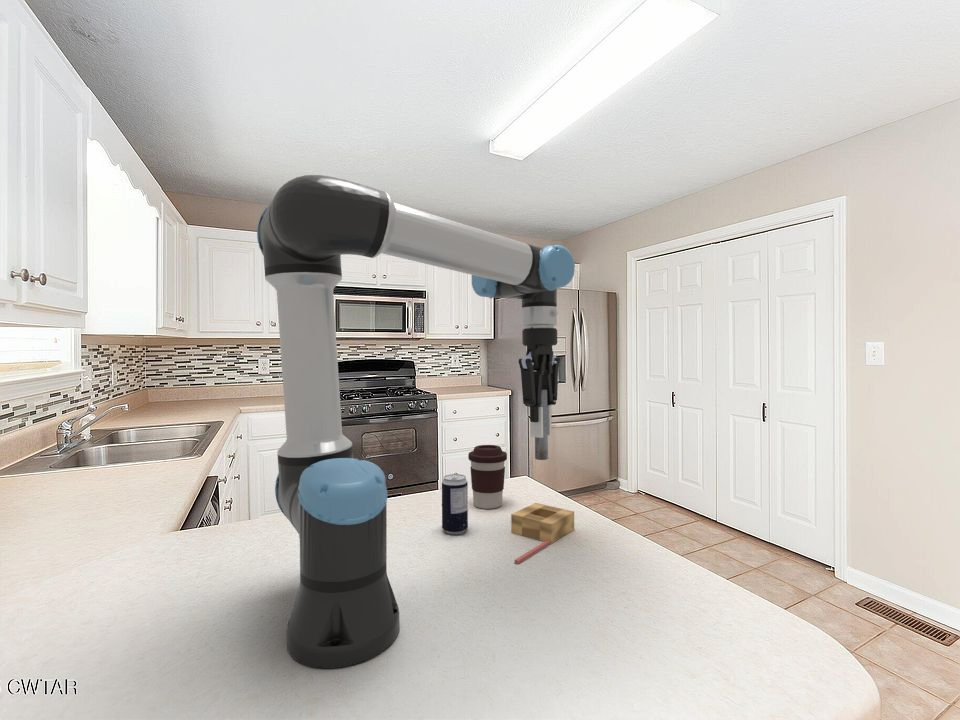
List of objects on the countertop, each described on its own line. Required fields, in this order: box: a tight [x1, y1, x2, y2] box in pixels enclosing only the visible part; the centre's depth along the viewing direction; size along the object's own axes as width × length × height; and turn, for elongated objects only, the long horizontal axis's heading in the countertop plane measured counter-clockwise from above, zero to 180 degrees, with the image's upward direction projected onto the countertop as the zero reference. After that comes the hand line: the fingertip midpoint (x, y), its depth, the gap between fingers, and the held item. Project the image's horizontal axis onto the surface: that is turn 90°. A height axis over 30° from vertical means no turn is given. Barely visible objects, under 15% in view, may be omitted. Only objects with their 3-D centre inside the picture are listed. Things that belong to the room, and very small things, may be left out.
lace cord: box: [514, 540, 552, 565], centre depth 93 cm, size 12×1×1 cm, turn 141°
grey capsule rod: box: [534, 389, 549, 461], centre depth 103 cm, size 3×3×15 cm
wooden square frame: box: [510, 502, 575, 545], centre depth 104 cm, size 10×10×4 cm
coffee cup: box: [467, 444, 508, 510], centre depth 122 cm, size 10×10×15 cm
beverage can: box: [441, 473, 469, 536], centre depth 104 cm, size 6×6×12 cm
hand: (541, 435), depth 103 cm, fingers closed on grey capsule rod, 3 cm apart
